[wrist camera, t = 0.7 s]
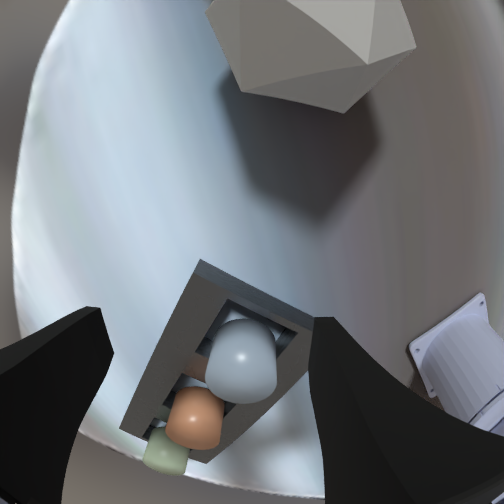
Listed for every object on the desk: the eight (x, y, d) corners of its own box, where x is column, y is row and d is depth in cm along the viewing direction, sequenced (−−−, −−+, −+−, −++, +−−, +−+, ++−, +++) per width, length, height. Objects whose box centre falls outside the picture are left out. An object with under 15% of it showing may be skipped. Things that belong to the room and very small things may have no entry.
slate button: (231, 308, 18) (224, 344, 14) (287, 335, 18) (290, 373, 15) (204, 350, 19) (194, 387, 16) (256, 373, 20) (254, 411, 16)
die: (350, 129, 16) (483, 57, 7) (216, 154, 13) (356, -6, 4) (297, 27, 16) (385, -62, 7) (170, 29, 12) (228, -116, 3)
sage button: (157, 421, 23) (148, 451, 19) (197, 437, 23) (191, 467, 20) (147, 437, 24) (138, 463, 21) (183, 451, 25) (177, 478, 21)
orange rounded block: (185, 379, 20) (175, 414, 17) (233, 399, 21) (229, 434, 17) (169, 404, 21) (158, 436, 18) (212, 422, 22) (206, 454, 19)
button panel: (200, 258, 19) (193, 272, 17) (328, 324, 20) (333, 341, 18) (124, 414, 26) (119, 428, 24) (208, 449, 27) (206, 463, 25)
